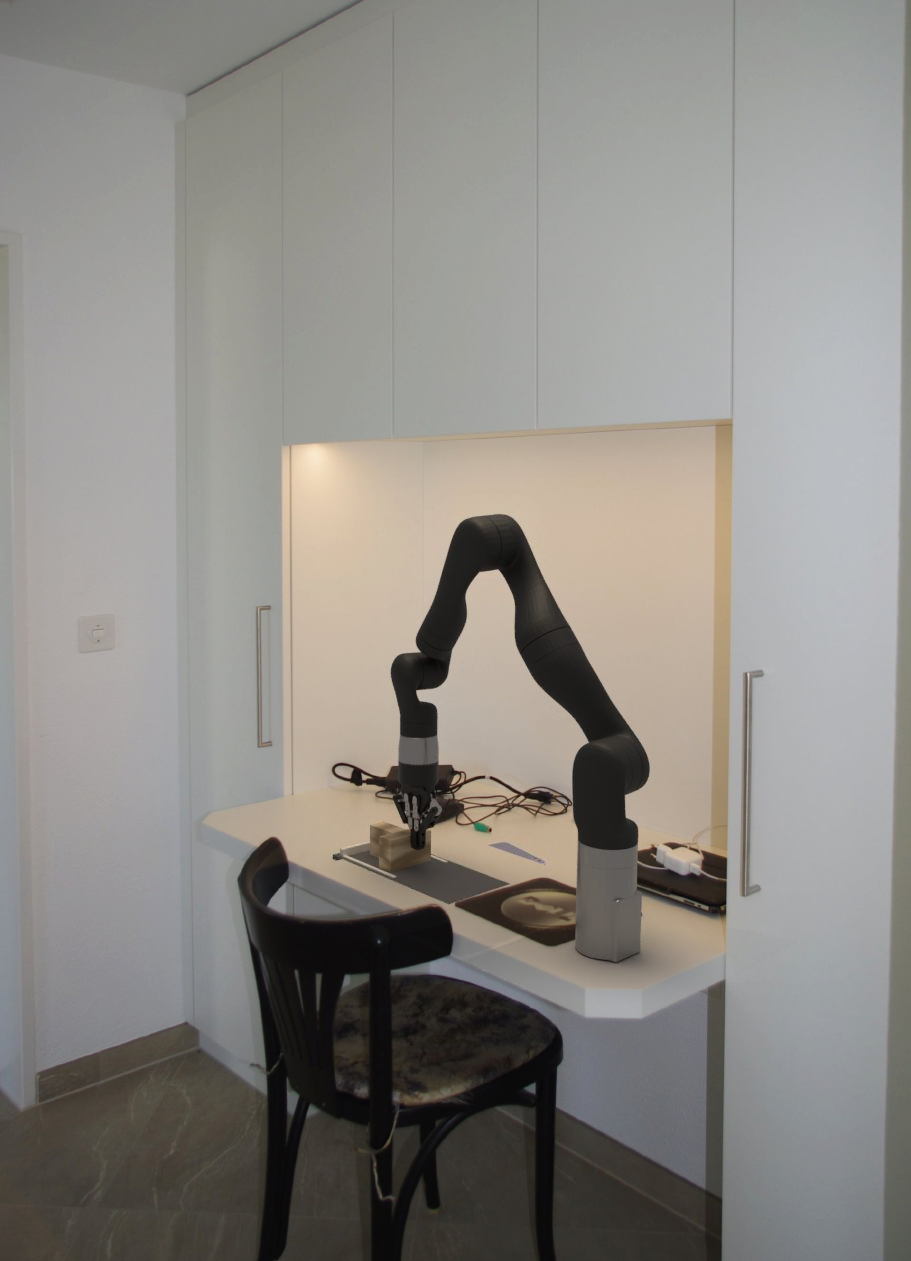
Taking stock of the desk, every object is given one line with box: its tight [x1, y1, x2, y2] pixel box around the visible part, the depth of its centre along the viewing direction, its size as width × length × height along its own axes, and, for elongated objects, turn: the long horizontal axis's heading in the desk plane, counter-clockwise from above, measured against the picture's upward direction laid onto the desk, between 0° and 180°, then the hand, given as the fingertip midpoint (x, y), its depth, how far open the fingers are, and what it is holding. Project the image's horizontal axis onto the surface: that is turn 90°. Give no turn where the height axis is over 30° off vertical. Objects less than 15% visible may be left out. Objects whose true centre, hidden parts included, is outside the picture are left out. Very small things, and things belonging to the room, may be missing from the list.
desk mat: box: [332, 840, 510, 905], centre depth 188 cm, size 34×15×2 cm, turn 43°
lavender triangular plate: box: [488, 841, 547, 866], centre depth 198 cm, size 8×1×15 cm
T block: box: [369, 820, 432, 872], centre depth 193 cm, size 10×10×6 cm
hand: (417, 848), depth 187 cm, fingers closed
